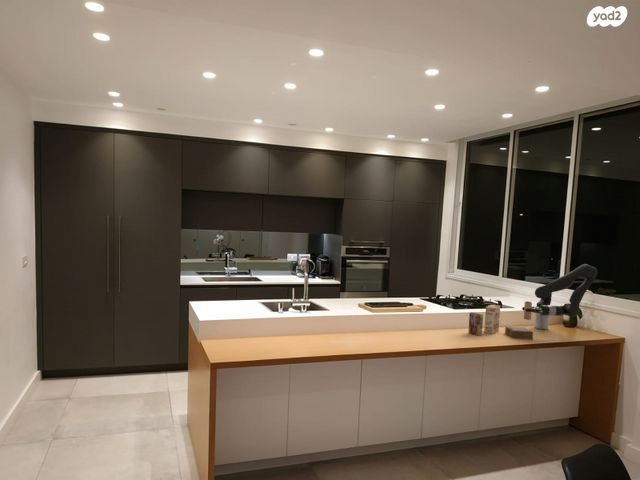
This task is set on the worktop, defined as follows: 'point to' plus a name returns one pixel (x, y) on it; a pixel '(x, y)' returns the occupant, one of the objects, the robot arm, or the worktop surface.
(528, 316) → the terracotta canister
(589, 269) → the robot arm
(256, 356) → the worktop surface
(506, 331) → the walnut base
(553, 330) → the worktop surface
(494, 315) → the coffeecake box
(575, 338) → the worktop surface
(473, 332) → the candy box
